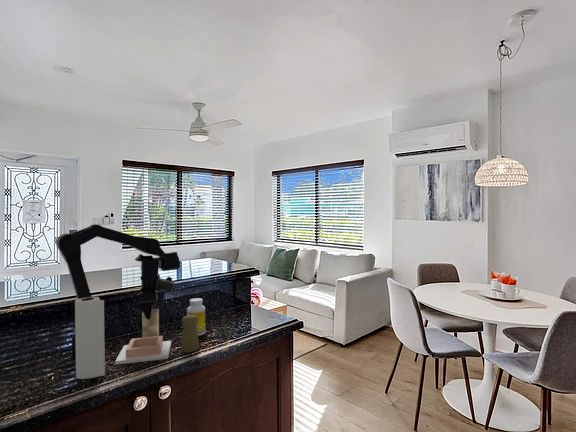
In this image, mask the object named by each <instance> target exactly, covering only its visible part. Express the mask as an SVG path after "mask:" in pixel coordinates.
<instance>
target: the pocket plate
mask: <svg viewBox="0 0 576 432" xmlns="http://www.w3.org/2000/svg"><path fill="white" fill-rule="evenodd" d="M171 346H172V340H164V337H163V335H159V336H155V337H145V338H142V337H135V338H131V339H130V341H129V343H128V344H126V345H125V344H124V345H123V347H122V349H121V350H120V352H119V354H118V356H116V357H117V358H116V360H115V361H114V364H115V365H123V364H132V363H133V364H134V363H139V362H140V363H141V362H142V363H143V362H149V361H150V362H151V361H152V362H153V361H160V360H167V359H169V357H170V351H171Z"/></svg>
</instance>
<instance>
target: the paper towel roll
mask: <svg viewBox="0 0 576 432" xmlns="http://www.w3.org/2000/svg"><path fill="white" fill-rule="evenodd" d="M104 316H105V299H100V297H98V296H91V297H87V298H81V299H75V301H74V319H75V320H74V321H75V322H74V325H75V333H74V335H75V336H76V358H75V377H76V379H78V380H86V379H93V378H98V377H102V376H106V362H105V360H106V358H105V356H106V355H105V354H106V353H105V351H106V350H105V317H104Z"/></svg>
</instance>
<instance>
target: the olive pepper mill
mask: <svg viewBox="0 0 576 432" xmlns="http://www.w3.org/2000/svg"><path fill="white" fill-rule="evenodd" d="M197 323H198V318H197V316H196V315H187V314H186V315H184V316H183V317H182V319H181V324H182V326H183V330H182V339H181V345H180V347H181V348H180V351H182V352H183V353H192V352H196V351H198V350H200V341H199V340H200V339H199V336H198V333H197V326H196V325H197Z"/></svg>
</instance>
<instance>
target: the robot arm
mask: <svg viewBox="0 0 576 432" xmlns="http://www.w3.org/2000/svg"><path fill="white" fill-rule="evenodd" d="M97 237H98V238H101V239H104V240H108V241H111V242H115V243H119V244H122V245H126V246H129V247H130V248H133V249H135V250H137V251H139V252H140V253H139V255H138V256H137V257H136V258H135V259H134V261H135V262H140V263H141V271H140V273H141V275H140V277H139V278H140V280H141V287H140V292H139V293H138V295H137V296H136V302H137V304H138V305H139V307H140V309H141V311H142V313H144V315H145V317H146V319H147V320H148V319H150V318H151V312H152V309H155V306H156V302H157V300H158V297H159V295H160V294H161V292H162V291H166V292H167V293H172V292H173V290H174V287H175V284H176V283H175V281H173V277H171V276H168V277H166V278H161V275H160V273H159V269H161V271H162V272H166V271H167V272H169V271H175V270H177V271H178V270H179V269H180V268H181V260H180V258H179V255H178V252H177V251H171V252H165V251H164V250H163V249H162V248H161V244H160V241H159V240H158V239H156V238H151V237H146V236H136V235H132V234H128V233H124V232H123V231H117V230H115V229H111V228H108V227H105V226H102V225H100V224H90V225H89V226H87V227H85V228H82V229H80V230H77V231H75V232H73V233H63V234H60V235H59V236H58V237H57V238H56V240H55V245H56V247H57V249H58V251H59V253H60V255H61V256H62V259H63V260H64V261H65V263H66V265H67V269H68V272H69V276H70V279H71V282H72V287H73V289H74V293H75V295H76V300H78V299H81V298H87V297H92V293H91V290H90V286H89V284H88V281H87V280H88V279H87V277H86V272H85V270H84V267H83V263H82V246H81V245H84V244H86V243H87V242H90V241H91V240H93V239H95V238H97ZM142 253H144V254H147V255H143V254H142ZM153 256H156V257H153ZM104 318H105V315H104ZM71 330H72V332H73V335H72V337H71V355H70V357H69V359H76V336H75V324H73V325H72V327H71Z"/></svg>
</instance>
